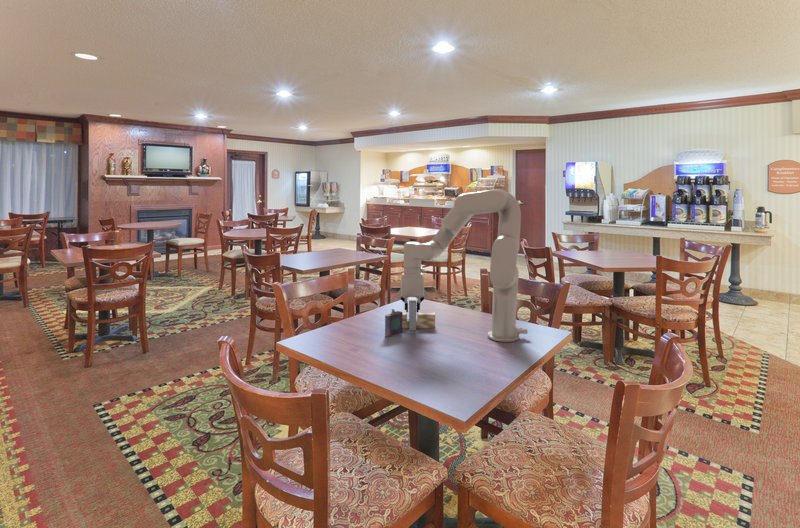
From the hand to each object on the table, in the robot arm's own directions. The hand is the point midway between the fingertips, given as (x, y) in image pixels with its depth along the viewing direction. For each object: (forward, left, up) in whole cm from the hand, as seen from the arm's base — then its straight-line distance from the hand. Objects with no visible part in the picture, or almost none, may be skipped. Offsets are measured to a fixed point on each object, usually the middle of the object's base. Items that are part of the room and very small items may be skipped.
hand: (412, 311), depth 195 cm
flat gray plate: (0, 0, -7) cm, 7 cm away
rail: (0, 0, -7) cm, 7 cm away
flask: (+8, +10, -7) cm, 15 cm away
